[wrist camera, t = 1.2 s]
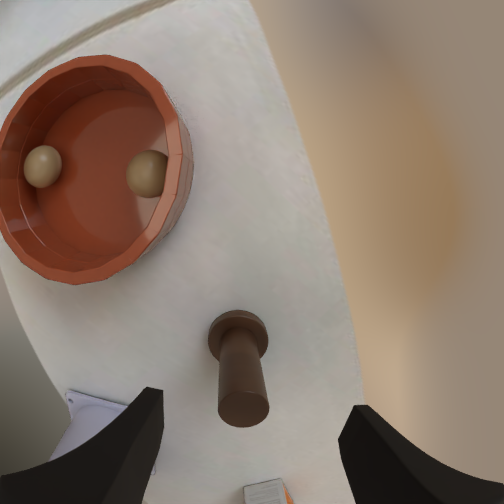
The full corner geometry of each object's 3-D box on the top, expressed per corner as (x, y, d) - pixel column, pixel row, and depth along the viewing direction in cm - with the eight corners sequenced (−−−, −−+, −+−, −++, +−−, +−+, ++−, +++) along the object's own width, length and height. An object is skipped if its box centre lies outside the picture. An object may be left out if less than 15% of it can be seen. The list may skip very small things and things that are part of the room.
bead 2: (174, 200, 18) (164, 201, 15) (131, 195, 18) (115, 196, 15) (180, 155, 17) (172, 148, 15) (138, 151, 17) (123, 144, 14)
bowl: (180, 275, 19) (165, 302, 14) (28, 250, 18) (-13, 264, 13) (209, 87, 17) (203, 55, 12) (50, 87, 16) (13, 67, 11)
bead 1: (66, 189, 17) (44, 189, 14) (36, 186, 17) (13, 187, 14) (72, 148, 17) (51, 142, 14) (41, 147, 16) (19, 143, 14)
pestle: (261, 363, 21) (277, 439, 13) (206, 357, 21) (198, 434, 13) (271, 313, 20) (295, 380, 12) (212, 306, 20) (203, 372, 12)
